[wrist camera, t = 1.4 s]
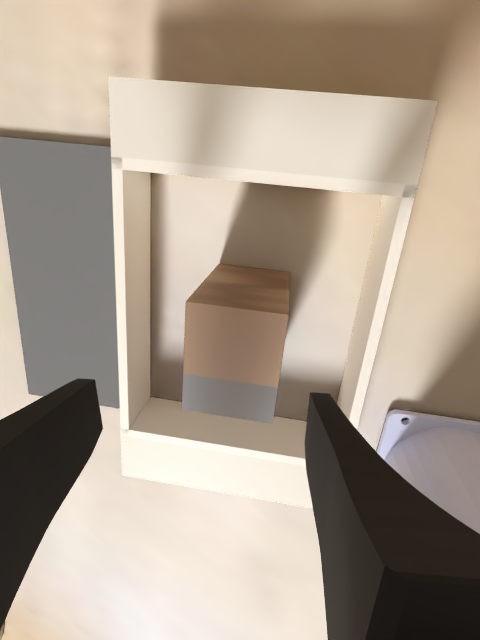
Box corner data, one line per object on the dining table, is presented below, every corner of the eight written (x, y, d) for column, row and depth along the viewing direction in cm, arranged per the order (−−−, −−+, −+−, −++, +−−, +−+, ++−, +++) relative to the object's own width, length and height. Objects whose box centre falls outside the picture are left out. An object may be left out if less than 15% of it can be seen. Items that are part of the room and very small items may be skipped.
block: (290, 272, 21) (288, 314, 14) (278, 352, 22) (272, 423, 16) (219, 263, 21) (185, 301, 14) (213, 343, 23) (181, 409, 16)
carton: (411, 115, 17) (438, 100, 14) (330, 469, 25) (336, 512, 22) (140, 94, 18) (108, 76, 15) (143, 438, 26) (121, 475, 23)
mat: (122, 148, 19) (119, 147, 19) (128, 406, 25) (126, 409, 25) (-2, 136, 20) (-7, 136, 20) (32, 390, 26) (28, 393, 25)
